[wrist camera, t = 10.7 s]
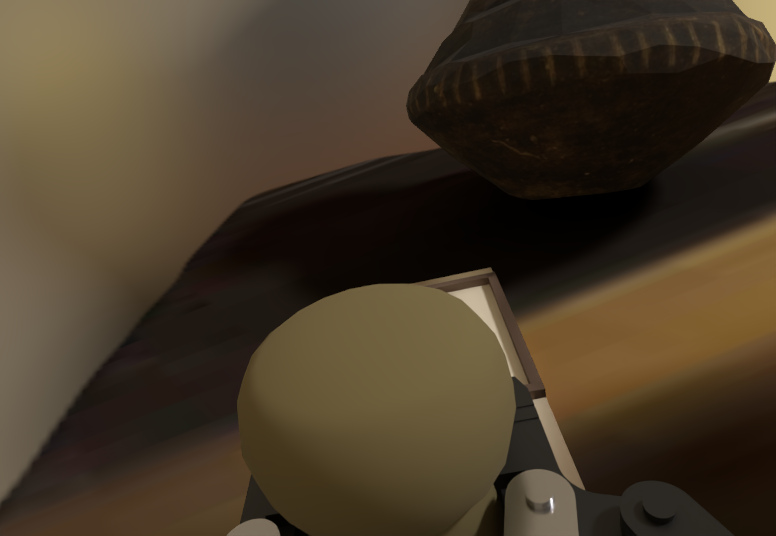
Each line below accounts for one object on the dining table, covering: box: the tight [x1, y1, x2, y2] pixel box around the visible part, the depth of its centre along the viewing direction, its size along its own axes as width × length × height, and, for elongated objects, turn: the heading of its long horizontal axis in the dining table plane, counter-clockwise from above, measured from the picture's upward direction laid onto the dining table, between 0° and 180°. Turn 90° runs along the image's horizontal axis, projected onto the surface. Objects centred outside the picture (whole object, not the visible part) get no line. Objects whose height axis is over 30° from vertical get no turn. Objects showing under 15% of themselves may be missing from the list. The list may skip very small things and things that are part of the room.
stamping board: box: [413, 267, 585, 490], centre depth 22 cm, size 11×32×2 cm, turn 2°
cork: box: [237, 284, 516, 536], centre depth 12 cm, size 6×6×11 cm
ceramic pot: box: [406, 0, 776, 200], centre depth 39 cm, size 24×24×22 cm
